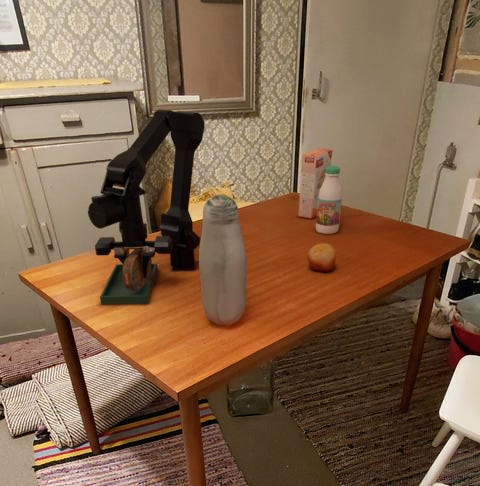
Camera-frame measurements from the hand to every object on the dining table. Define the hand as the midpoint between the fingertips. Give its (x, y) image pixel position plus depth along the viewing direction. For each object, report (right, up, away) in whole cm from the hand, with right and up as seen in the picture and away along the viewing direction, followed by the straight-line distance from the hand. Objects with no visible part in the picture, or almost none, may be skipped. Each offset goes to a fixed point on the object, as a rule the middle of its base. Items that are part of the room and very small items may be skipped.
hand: (139, 277), depth 128 cm
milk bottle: (+56, +25, +38) cm, 72 cm away
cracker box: (+53, +36, +54) cm, 84 cm away
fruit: (+49, +5, +11) cm, 51 cm away
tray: (-3, -2, +3) cm, 4 cm away
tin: (0, -1, +1) cm, 2 cm away
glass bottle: (+23, -13, -13) cm, 30 cm away
